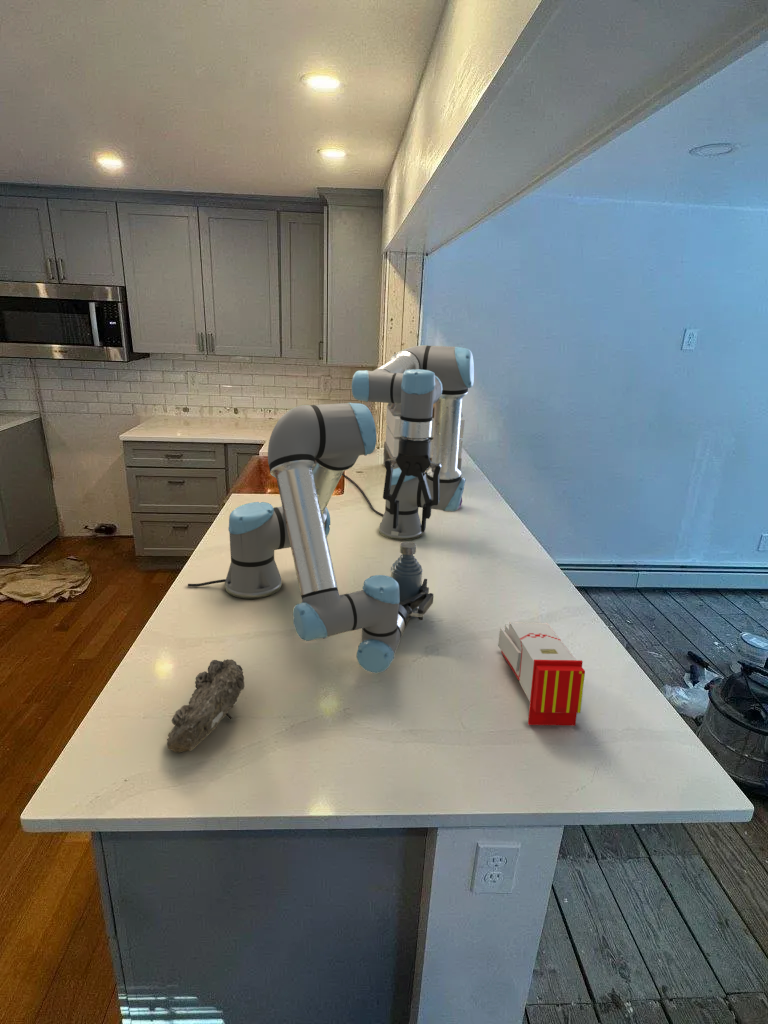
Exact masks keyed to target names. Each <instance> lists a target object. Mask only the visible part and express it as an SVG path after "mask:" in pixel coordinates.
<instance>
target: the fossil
mask: <svg viewBox="0 0 768 1024" xmlns="http://www.w3.org/2000/svg"><path fill="white" fill-rule="evenodd" d="M243 670H244V669H243V667H242V665H240V664H237V662H236V661H235V660H234V659H232V658H231V659H227V658H226V659H224V660H223V661H222V660H217V659H212V660H211V661H210V663H209V665H208V666H207V671H201V672H199V673H198V674H197V675H196V676H195V680H194V684H195V685H194V687H195V689H194V690H193V693H192V694H191V697H190V698H189V700H188V704H184V705H182V706H181V707H180V709H177V710H176V711H175V713H174V715H173V716H172V718H171V723H172V724H173V727H172V730H171V731H170V732H168V734H167V738H166V741H167V742H166V745H167V749H168V750H169V751H173V752H174V753H176V754H178V753H182V752H188V751H189V752H192V751H193V750H195V748H196V747H197V746H199V744H200V743H201V742H203V741H204V740H205V739H206V738H207V737H208V736H209V735H210V734H211V733H212V732H214V730H215V729H217V727H218V726H219V724H220V722H221V721H222V720H223V719H224V718H225V716H226V717H227V719H229V720H233V717H232V715H230V714H229V710H230V709H231V708H234V706H235V704H236V703H237V702H238V699H239V697H240V695H241V693H242V691H243V690H245V689H244V688H245V675H244V671H243Z"/></svg>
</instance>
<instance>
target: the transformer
mask: <svg viewBox="0 0 768 1024" xmlns="http://www.w3.org/2000/svg"><path fill="white" fill-rule="evenodd" d="M434 410H435V404H433V413H432V430H431V437H429V439H430V440H431V444H430V459H431V462H432V446H433V428H434ZM385 414H386V415H385V423H386V428H385V438H384V442H383V466H384V467H386V466H385V462H386V460H387V459H389V458H390V459H396V458H397V456H398V449H399V438H400V437H401V436H400V435H399V429H400V415H401V404H394V403H387V405H386V413H385ZM464 429H465V419H464V418H463V411H461V423H460V436H459V450H458V463H457V468H458V469H459V470H460V471H461V472H462V461H463V460H462V453H463V442H464V441H463V440H462V439H463V438H464V431H465V430H464ZM396 468H399V466H398V465H397V463H396V464H395V467H394V468H393V469H396Z"/></svg>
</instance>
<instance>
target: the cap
mask: <svg viewBox="0 0 768 1024" xmlns="http://www.w3.org/2000/svg"><path fill="white" fill-rule="evenodd" d="M399 553H400V554H401V555H402V554H404V555H413V556H414V555H415V554H416V553H417V543H415V542H414V541H410V540H405V541H402V542H400V544H399Z"/></svg>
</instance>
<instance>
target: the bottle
mask: <svg viewBox="0 0 768 1024" xmlns="http://www.w3.org/2000/svg"><path fill="white" fill-rule="evenodd" d="M423 572H424V570H423V568H422V565H421V563H420V562H419V561H418V559H417V558H416V557H415V556H414V554H413V555H404V554H402V553H401V555H400V556H399V557H398V558H397V559H396V560H395V561H394V562H393V563H392V565H391V567H390V576H389V577H392V578H393V579H394V580H396V581H397V582H398V584H399V592H400V601H402V602H403V601H405V600H406V599H411V598H412V597H414V596H416V595H417V594H419V593H420V588H421V586H422V584H423ZM418 607H419V606H418ZM416 609H417V607H416V608H415V609H413V610H412V611H415V610H416ZM414 618H415V617H414V616H412V618H411V619H414Z"/></svg>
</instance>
